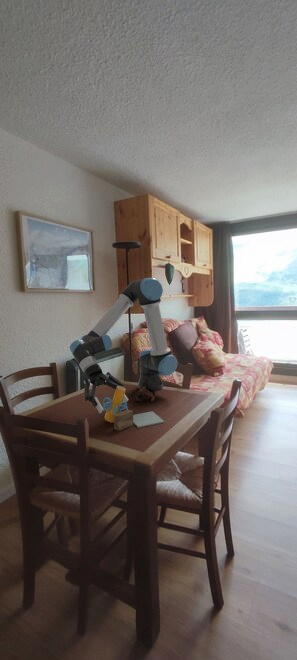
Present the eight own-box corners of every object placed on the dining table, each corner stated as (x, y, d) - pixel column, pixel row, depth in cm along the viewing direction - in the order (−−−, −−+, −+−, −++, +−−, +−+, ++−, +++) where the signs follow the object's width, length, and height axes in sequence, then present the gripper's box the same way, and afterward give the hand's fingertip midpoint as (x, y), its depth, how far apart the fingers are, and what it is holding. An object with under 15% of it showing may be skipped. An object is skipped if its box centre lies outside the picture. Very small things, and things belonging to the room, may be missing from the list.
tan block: (114, 429, 122) (113, 415, 122) (128, 423, 128) (128, 409, 127) (119, 431, 120) (118, 416, 120) (133, 424, 126) (132, 410, 125)
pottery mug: (140, 397, 164) (147, 384, 163) (152, 407, 159) (160, 394, 158) (127, 398, 153) (135, 384, 152) (140, 409, 149) (148, 395, 148)
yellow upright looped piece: (105, 427, 122) (116, 394, 120) (93, 413, 130) (103, 382, 127) (128, 425, 130) (139, 394, 128) (115, 412, 138) (125, 383, 136)
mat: (152, 412, 139) (152, 411, 139) (164, 422, 127) (164, 421, 127) (127, 417, 134) (127, 415, 134) (137, 428, 122) (137, 426, 122)
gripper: (109, 367, 148) (132, 402, 139) (64, 379, 130) (87, 420, 121) (115, 358, 144) (139, 393, 135) (69, 369, 126) (94, 411, 117)
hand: (114, 406), depth 128 cm, fingers open, 13 cm apart
